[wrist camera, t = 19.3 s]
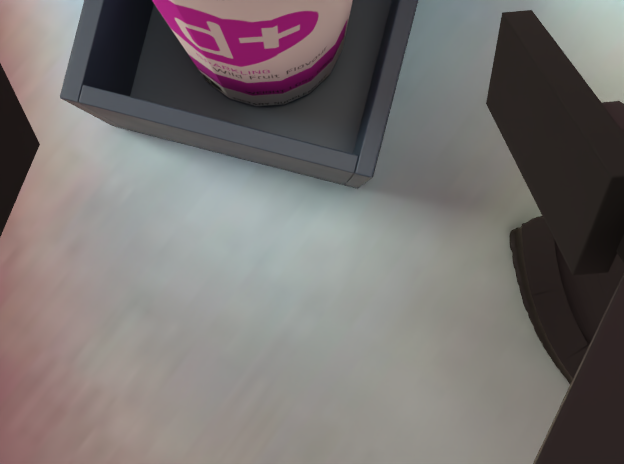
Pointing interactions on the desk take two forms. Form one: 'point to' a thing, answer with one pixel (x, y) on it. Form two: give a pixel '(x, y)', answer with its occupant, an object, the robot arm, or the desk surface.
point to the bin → (234, 114)
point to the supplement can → (260, 44)
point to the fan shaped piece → (560, 295)
